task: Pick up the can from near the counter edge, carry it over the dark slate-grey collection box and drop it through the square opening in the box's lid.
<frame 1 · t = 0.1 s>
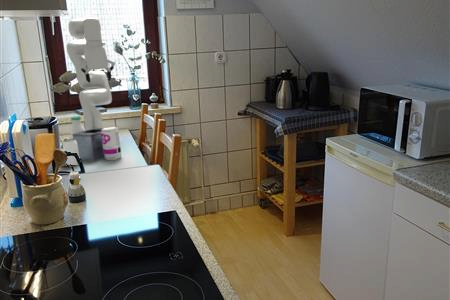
hand: (99, 81, 194), 37 cm above the table, tool pointing down, fingers open, 9 cm apart
milk bottle: (81, 154, 209), on the table
supplement can: (113, 158, 197), on the table
collection box: (97, 156, 203), on the table
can: (73, 165, 189), on the table
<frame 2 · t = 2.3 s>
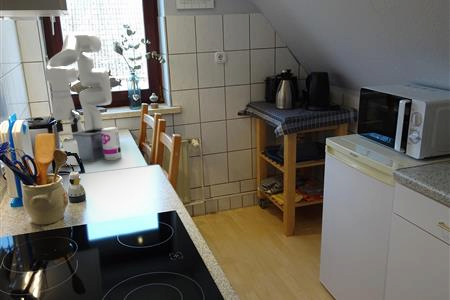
hand: (67, 131, 185), 16 cm above the table, tool pointing down, fingers open, 9 cm apart
nothing on the table moved.
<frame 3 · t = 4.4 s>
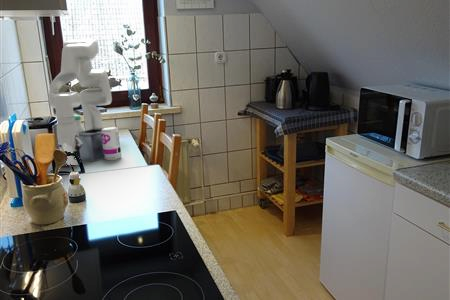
hand: (72, 158, 188), 3 cm above the table, tool pointing down, fingers closed on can, 6 cm apart
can: (73, 165, 189), on the table, touching gripper
everything else where it was.
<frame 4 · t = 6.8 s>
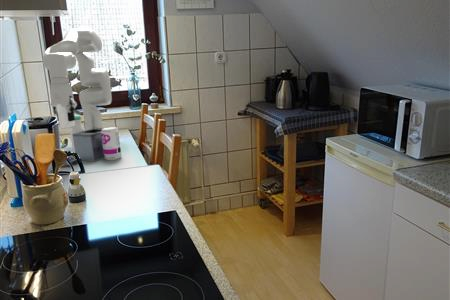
hand: (66, 120, 184), 21 cm above the table, tool pointing down, fingers closed on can, 6 cm apart
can: (67, 127, 185), point 18 cm above the table, touching gripper
everything else where it was.
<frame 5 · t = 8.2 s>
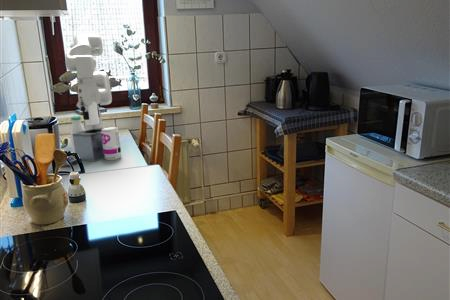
hand: (91, 118, 198), 20 cm above the table, tool pointing down, fingers closed on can, 6 cm apart
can: (92, 124, 198), point 16 cm above the table, touching gripper
everything else where it was.
when the fingers open (18 cm above the table, at t = 9.3 s): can drops 14 cm, resting on collection box.
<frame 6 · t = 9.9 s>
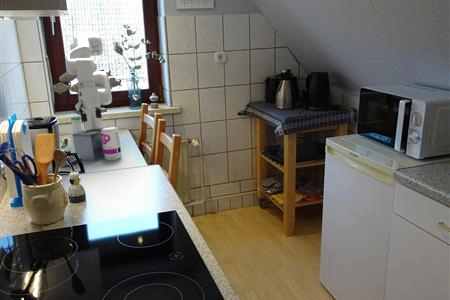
hand: (91, 119, 198), 19 cm above the table, tool pointing down, fingers open, 9 cm apart
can: (95, 155, 202), resting on collection box
everything else where it was.
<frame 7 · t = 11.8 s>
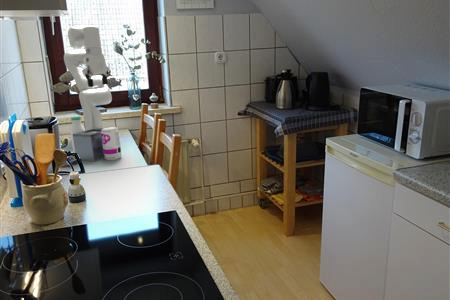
hand: (98, 85, 205), 34 cm above the table, tool pointing down, fingers open, 9 cm apart
nothing on the table moved.
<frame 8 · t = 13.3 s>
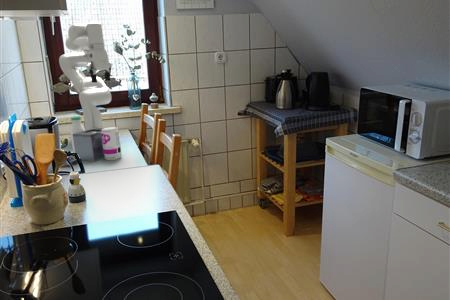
hand: (101, 81, 208), 36 cm above the table, tool pointing down, fingers open, 9 cm apart
nothing on the table moved.
at the end: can inside the target area on the collection box (0.8 cm from its centre), point 0.4 cm above the collection box's base; the gripper is holding nothing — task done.
